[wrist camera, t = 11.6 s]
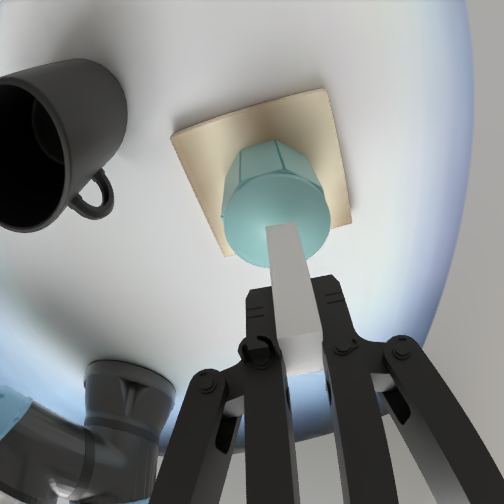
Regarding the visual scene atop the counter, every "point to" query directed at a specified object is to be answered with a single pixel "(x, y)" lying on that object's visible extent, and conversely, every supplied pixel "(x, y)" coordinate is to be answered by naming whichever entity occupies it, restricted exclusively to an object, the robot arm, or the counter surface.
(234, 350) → the counter surface
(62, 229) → the counter surface
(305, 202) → the cap
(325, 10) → the counter surface
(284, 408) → the robot arm
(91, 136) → the mug
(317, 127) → the post block
